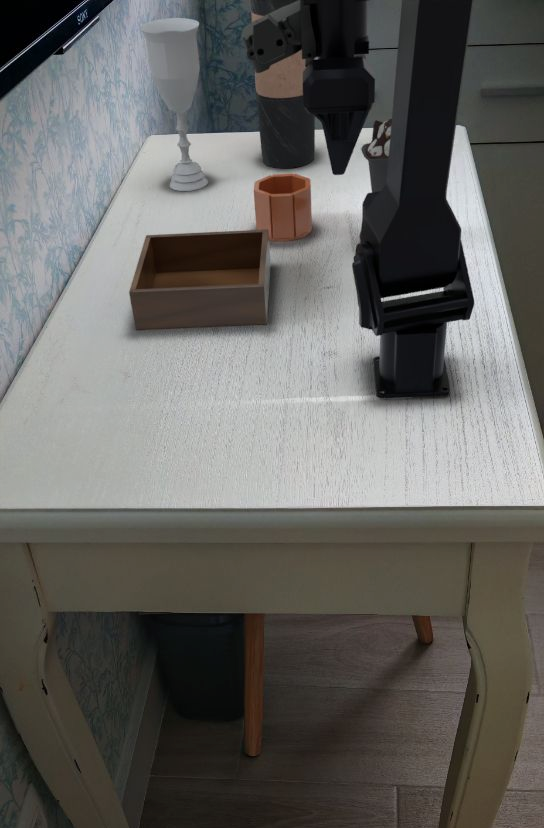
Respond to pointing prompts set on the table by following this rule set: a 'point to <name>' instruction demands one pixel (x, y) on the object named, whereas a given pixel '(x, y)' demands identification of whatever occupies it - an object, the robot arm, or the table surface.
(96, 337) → the table surface
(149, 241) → the wooden box
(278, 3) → the travel mug
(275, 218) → the bucket
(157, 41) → the chalice
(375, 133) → the sundae
